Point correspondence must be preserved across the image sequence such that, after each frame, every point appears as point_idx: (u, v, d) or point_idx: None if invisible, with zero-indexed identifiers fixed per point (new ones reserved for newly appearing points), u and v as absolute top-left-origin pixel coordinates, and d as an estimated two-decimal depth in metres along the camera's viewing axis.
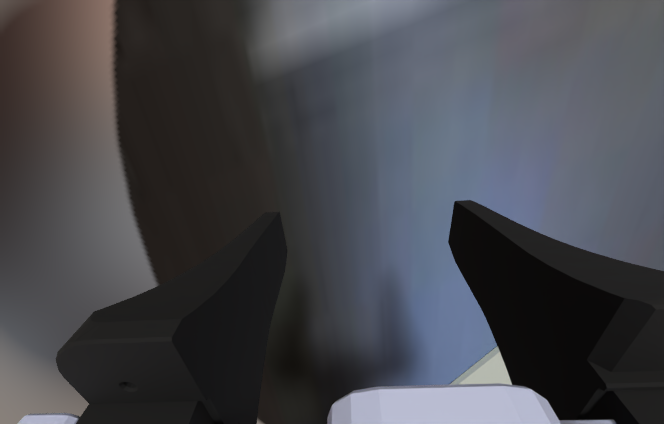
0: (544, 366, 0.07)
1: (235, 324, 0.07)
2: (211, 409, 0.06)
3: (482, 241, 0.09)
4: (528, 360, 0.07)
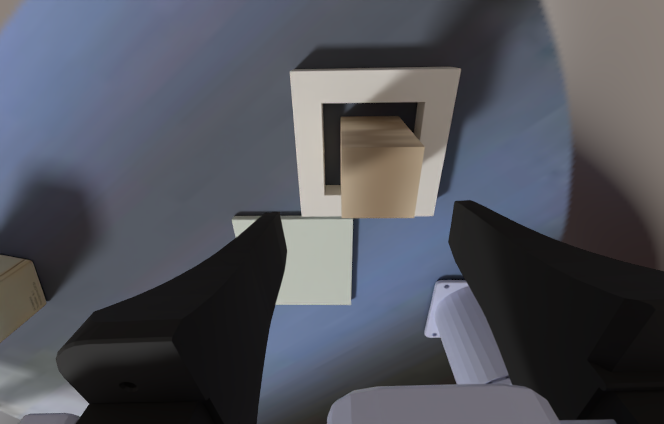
0: (545, 366, 0.07)
1: (235, 324, 0.07)
2: (211, 409, 0.06)
3: (482, 241, 0.09)
4: (528, 360, 0.07)
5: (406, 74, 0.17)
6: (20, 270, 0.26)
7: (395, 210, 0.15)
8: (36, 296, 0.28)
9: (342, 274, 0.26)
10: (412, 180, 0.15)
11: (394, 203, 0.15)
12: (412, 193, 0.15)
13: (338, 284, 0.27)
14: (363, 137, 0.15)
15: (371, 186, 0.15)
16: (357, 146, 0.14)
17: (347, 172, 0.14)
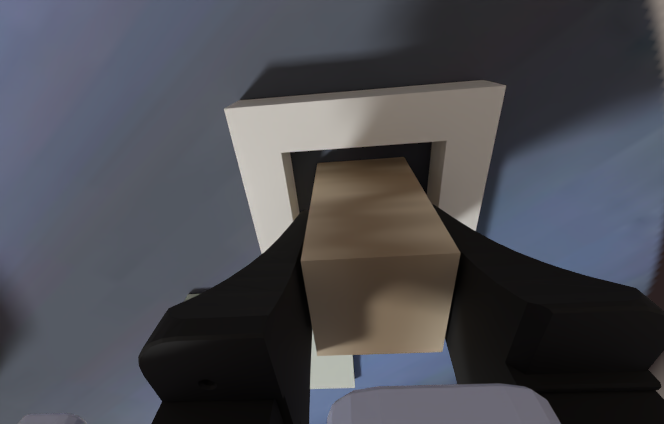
0: (478, 368, 0.07)
1: (295, 322, 0.07)
2: (283, 407, 0.06)
3: None
4: (467, 362, 0.07)
5: (413, 100, 0.10)
6: None
7: (408, 344, 0.09)
8: None
9: (340, 356, 0.20)
10: (437, 302, 0.08)
11: (406, 334, 0.09)
12: (438, 320, 0.08)
13: (336, 366, 0.20)
14: (345, 223, 0.09)
15: (363, 314, 0.08)
16: (330, 257, 0.07)
17: (317, 296, 0.08)
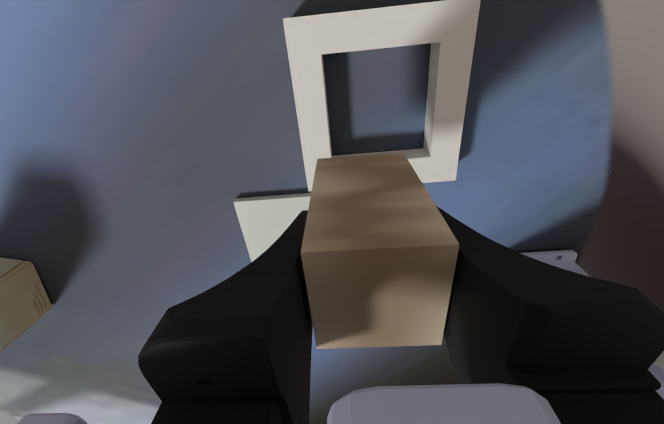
0: (478, 368, 0.07)
1: (295, 322, 0.07)
2: (283, 407, 0.06)
3: None
4: (467, 362, 0.07)
5: (416, 9, 0.14)
6: (20, 272, 0.25)
7: (408, 336, 0.09)
8: (40, 299, 0.27)
9: None
10: (436, 295, 0.08)
11: (405, 327, 0.09)
12: (437, 313, 0.08)
13: None
14: (345, 216, 0.09)
15: (362, 306, 0.08)
16: (330, 248, 0.07)
17: (316, 287, 0.08)
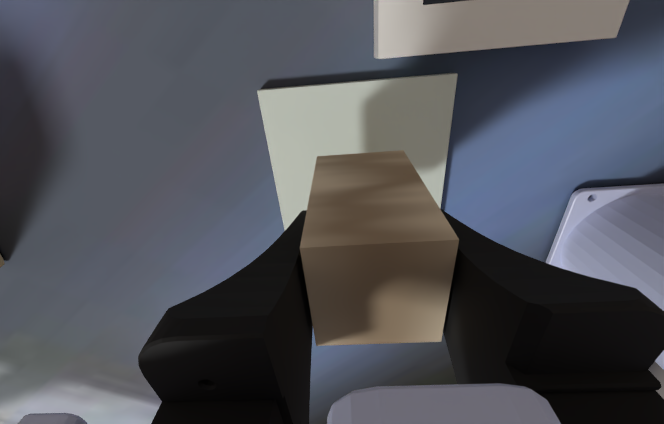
0: (478, 368, 0.07)
1: (295, 322, 0.07)
2: (283, 407, 0.06)
3: None
4: (467, 362, 0.07)
5: None
6: None
7: (407, 333, 0.09)
8: None
9: (428, 186, 0.17)
10: (436, 291, 0.08)
11: (405, 323, 0.09)
12: (437, 309, 0.08)
13: None
14: (344, 212, 0.09)
15: (361, 302, 0.08)
16: (329, 244, 0.07)
17: (316, 284, 0.08)
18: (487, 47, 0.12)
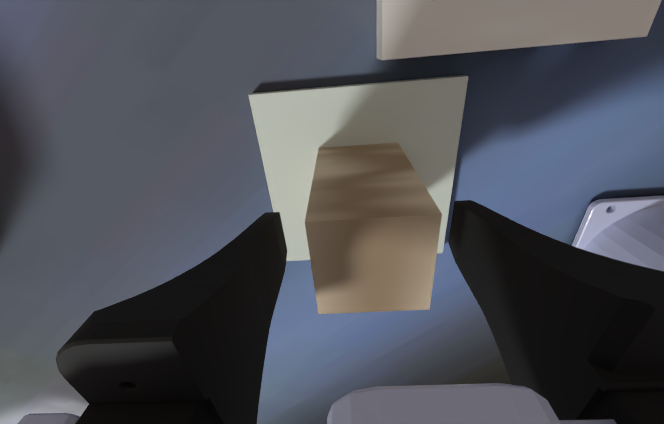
0: (544, 366, 0.07)
1: (235, 324, 0.07)
2: (211, 409, 0.06)
3: (482, 241, 0.09)
4: (528, 360, 0.07)
5: None
6: None
7: (399, 301, 0.10)
8: None
9: (434, 197, 0.16)
10: (424, 261, 0.09)
11: (397, 292, 0.10)
12: (425, 278, 0.10)
13: None
14: (343, 194, 0.10)
15: (358, 272, 0.09)
16: (329, 219, 0.08)
17: (318, 255, 0.09)
18: (503, 47, 0.11)
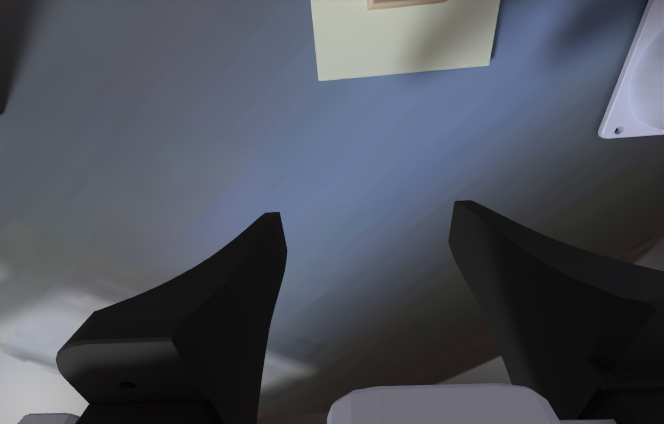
0: (545, 366, 0.07)
1: (235, 324, 0.07)
2: (211, 409, 0.06)
3: (482, 241, 0.09)
4: (528, 360, 0.07)
5: None
6: None
7: None
8: None
9: None
10: None
11: None
12: None
13: (475, 9, 0.15)
14: None
15: None
16: None
17: None
18: None
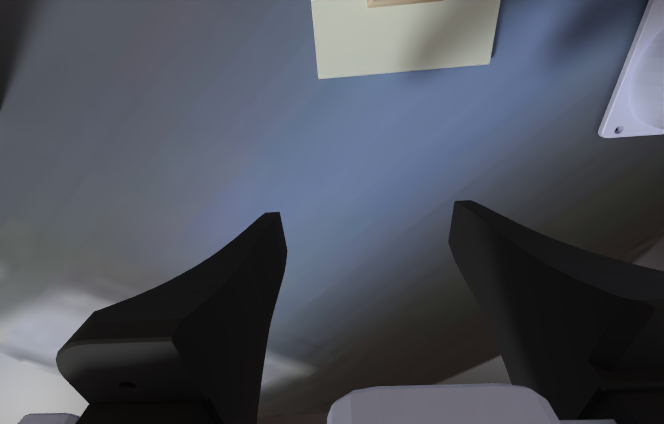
0: (544, 366, 0.07)
1: (235, 324, 0.07)
2: (211, 409, 0.06)
3: (482, 241, 0.09)
4: (528, 360, 0.07)
5: None
6: None
7: None
8: None
9: None
10: None
11: None
12: None
13: (476, 7, 0.15)
14: None
15: None
16: None
17: None
18: None
